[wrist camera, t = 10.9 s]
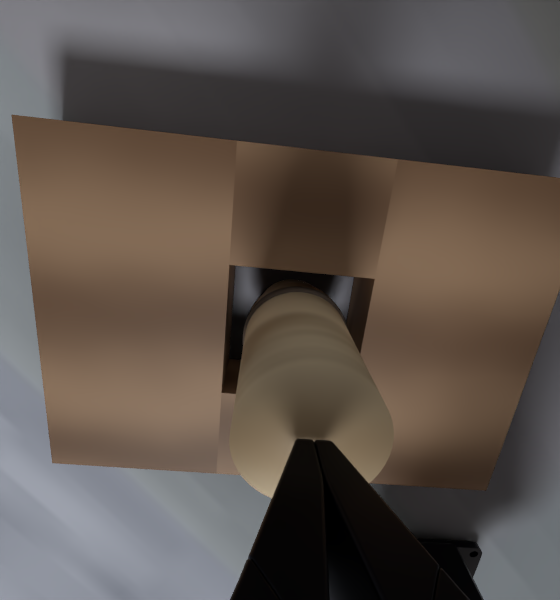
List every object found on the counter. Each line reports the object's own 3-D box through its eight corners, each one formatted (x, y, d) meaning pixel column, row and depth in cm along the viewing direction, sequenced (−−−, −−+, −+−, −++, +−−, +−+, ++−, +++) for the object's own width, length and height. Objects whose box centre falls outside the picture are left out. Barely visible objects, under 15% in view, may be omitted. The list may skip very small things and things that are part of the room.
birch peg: (328, 354, 18) (379, 512, 10) (244, 347, 18) (221, 502, 9) (340, 273, 17) (414, 373, 8) (250, 264, 17) (231, 359, 8)
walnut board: (455, 446, 20) (486, 490, 17) (85, 420, 19) (52, 463, 16) (539, 181, 16) (598, 182, 13) (62, 126, 15) (11, 114, 12)
